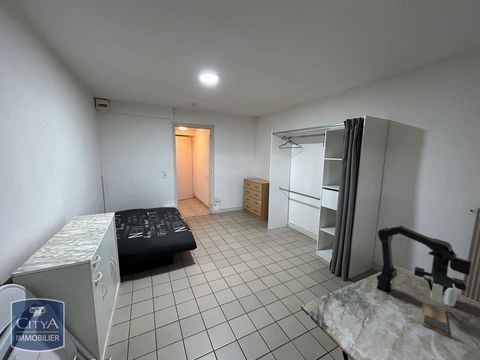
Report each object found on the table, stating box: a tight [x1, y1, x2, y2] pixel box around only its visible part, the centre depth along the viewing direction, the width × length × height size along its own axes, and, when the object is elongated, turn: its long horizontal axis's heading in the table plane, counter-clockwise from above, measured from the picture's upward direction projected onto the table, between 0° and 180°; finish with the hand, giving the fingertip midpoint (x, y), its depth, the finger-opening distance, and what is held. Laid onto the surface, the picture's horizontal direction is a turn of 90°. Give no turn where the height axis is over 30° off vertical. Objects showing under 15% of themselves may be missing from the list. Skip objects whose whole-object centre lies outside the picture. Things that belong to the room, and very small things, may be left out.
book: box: [430, 277, 443, 304], centre depth 102 cm, size 4×8×9 cm, turn 137°
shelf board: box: [421, 300, 449, 337], centre depth 101 cm, size 9×20×1 cm, turn 137°
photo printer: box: [443, 285, 459, 307], centre depth 111 cm, size 10×4×12 cm, turn 123°
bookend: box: [424, 315, 449, 333], centre depth 94 cm, size 8×1×4 cm, turn 47°
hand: (436, 292), depth 102 cm, fingers closed on book, 3 cm apart
